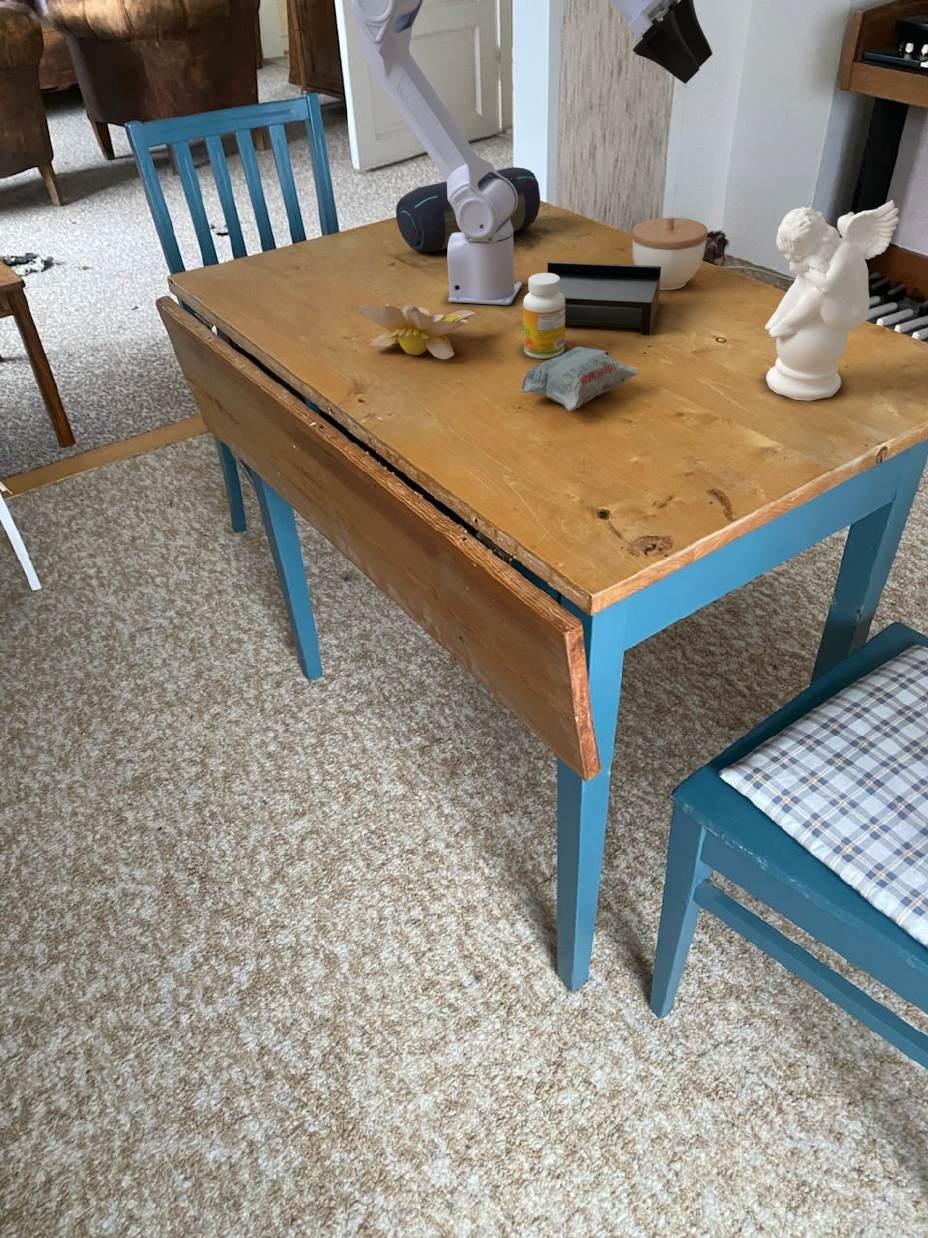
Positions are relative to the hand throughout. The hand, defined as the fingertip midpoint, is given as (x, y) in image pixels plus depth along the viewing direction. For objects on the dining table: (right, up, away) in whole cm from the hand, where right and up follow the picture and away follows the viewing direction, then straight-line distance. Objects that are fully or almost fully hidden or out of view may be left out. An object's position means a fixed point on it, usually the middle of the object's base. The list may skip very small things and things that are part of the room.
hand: (699, 68), depth 115 cm
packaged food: (-14, -39, +1) cm, 42 cm away
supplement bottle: (-18, -31, +12) cm, 38 cm away
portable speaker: (-27, -2, +47) cm, 54 cm away
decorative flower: (-34, -30, +14) cm, 47 cm away
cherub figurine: (+14, -37, +1) cm, 40 cm away
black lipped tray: (-10, -24, +19) cm, 32 cm away
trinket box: (+2, -16, +28) cm, 32 cm away
